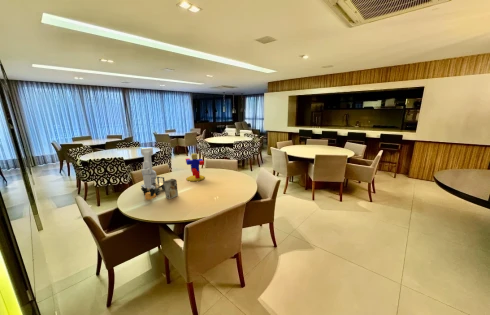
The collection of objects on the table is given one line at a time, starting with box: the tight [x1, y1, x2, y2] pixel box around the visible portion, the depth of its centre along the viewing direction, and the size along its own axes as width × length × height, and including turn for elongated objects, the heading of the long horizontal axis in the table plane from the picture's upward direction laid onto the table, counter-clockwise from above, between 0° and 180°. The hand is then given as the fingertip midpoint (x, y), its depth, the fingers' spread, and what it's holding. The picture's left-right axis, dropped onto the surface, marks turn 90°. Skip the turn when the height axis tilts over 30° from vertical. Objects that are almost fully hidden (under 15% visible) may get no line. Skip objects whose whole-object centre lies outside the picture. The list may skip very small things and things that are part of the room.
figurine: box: [185, 153, 206, 183], centre depth 224 cm, size 22×22×30 cm
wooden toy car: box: [147, 176, 165, 196], centre depth 189 cm, size 17×14×13 cm
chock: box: [144, 191, 157, 201], centre depth 176 cm, size 5×7×6 cm
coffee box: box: [164, 178, 179, 200], centre depth 177 cm, size 9×6×16 cm
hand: (149, 195), depth 175 cm, fingers open, 7 cm apart
